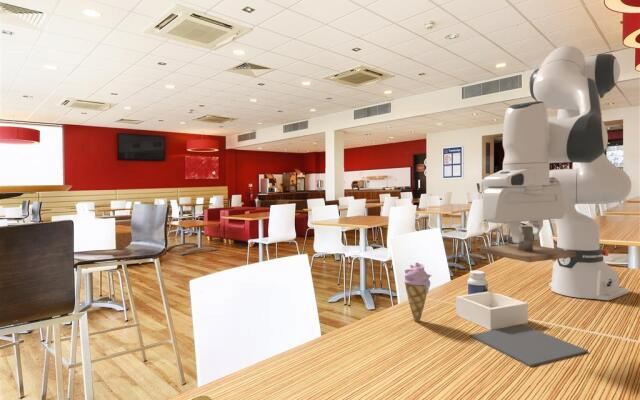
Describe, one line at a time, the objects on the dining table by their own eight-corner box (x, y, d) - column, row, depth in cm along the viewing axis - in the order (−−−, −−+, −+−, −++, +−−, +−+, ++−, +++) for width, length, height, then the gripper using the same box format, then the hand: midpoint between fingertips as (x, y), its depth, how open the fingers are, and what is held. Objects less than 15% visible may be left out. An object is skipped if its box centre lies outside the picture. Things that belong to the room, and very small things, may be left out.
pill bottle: (489, 308, 107) (489, 274, 107) (469, 307, 108) (469, 273, 108) (485, 302, 112) (485, 270, 112) (466, 302, 113) (465, 269, 113)
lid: (522, 247, 91) (522, 222, 91) (576, 256, 79) (576, 227, 78) (479, 252, 86) (479, 225, 86) (529, 262, 74) (529, 231, 74)
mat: (522, 326, 94) (522, 324, 94) (588, 352, 79) (588, 350, 79) (470, 336, 88) (470, 334, 88) (530, 366, 73) (530, 364, 73)
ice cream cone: (432, 318, 100) (431, 261, 100) (431, 326, 94) (430, 266, 94) (406, 316, 102) (405, 260, 102) (403, 324, 96) (402, 265, 96)
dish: (490, 308, 107) (490, 291, 107) (527, 322, 96) (527, 303, 95) (456, 314, 103) (455, 296, 102) (490, 330, 91) (490, 309, 91)
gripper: (547, 177, 88) (547, 236, 89) (477, 178, 81) (477, 243, 82) (573, 176, 83) (573, 240, 83) (501, 177, 75) (501, 247, 76)
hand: (525, 241), depth 82 cm, fingers closed on lid, 3 cm apart
